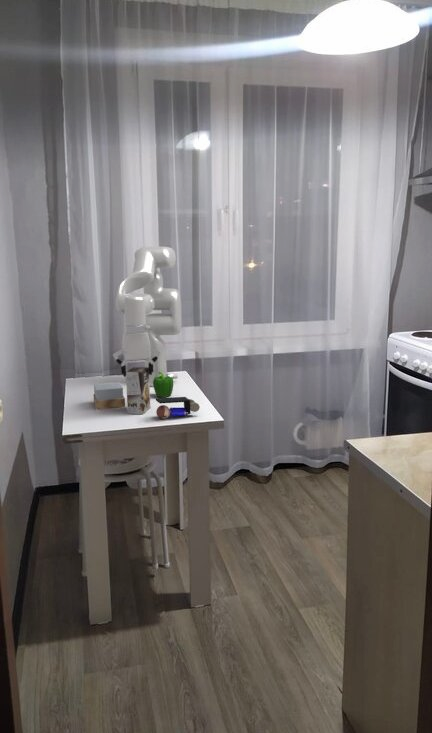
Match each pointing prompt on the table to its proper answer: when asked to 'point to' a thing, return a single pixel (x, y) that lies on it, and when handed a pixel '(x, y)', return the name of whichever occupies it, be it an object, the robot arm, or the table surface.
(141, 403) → the coffee box
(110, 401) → the tower base block
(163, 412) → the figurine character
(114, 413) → the table surface
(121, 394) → the tower top block
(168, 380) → the bell pepper
